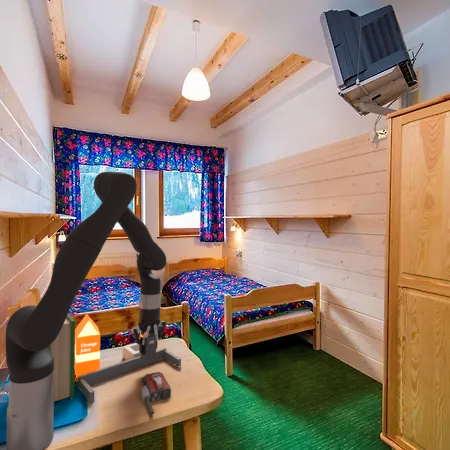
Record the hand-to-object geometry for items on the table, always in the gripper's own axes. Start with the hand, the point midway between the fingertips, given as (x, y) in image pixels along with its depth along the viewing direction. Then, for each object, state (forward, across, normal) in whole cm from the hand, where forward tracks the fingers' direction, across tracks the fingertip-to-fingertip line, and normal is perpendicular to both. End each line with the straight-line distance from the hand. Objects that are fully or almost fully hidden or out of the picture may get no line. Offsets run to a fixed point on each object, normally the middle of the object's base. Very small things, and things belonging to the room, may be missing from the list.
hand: (148, 352), depth 108 cm
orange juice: (+8, -16, +14) cm, 23 cm away
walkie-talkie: (+8, -6, -15) cm, 18 cm away
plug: (+2, 0, 0) cm, 2 cm away
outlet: (+7, +3, +11) cm, 14 cm away
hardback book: (+8, -28, +10) cm, 30 cm away
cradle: (+7, -5, +1) cm, 9 cm away
